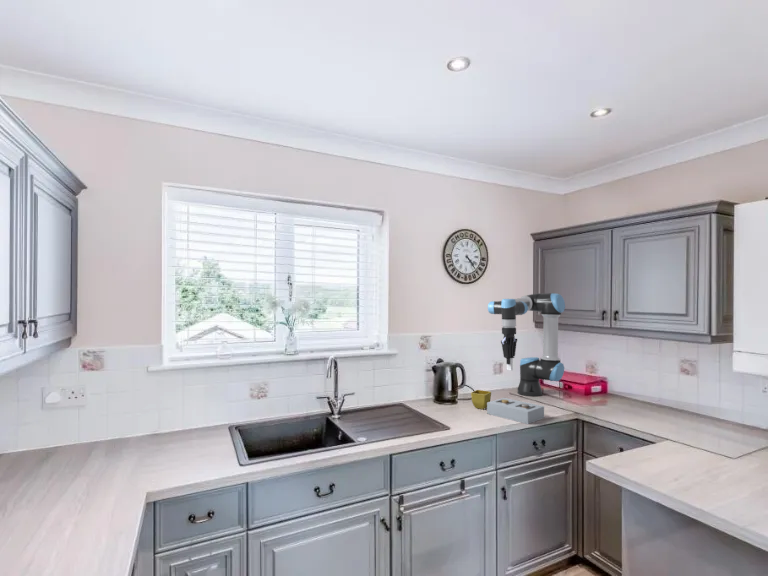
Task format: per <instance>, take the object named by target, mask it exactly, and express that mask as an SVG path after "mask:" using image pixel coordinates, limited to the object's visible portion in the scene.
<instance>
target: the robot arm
mask: <svg viewBox="0 0 768 576" xmlns="http://www.w3.org/2000/svg"><path fill="white" fill-rule="evenodd" d="M565 308H566V303H565V299H564V297H563V296H562V294H559V293H555V292H554V293H553V292H552V293H551V292H550V293H547V292H546V293H531V294H527V295H523V296H521V297H520V298H502V299H501V300H499V301H498V300H497V301H493V300H492V301H489V302H488V304H487V311H488V313H489V314H491V315H501V326H502V327H501V334H502V335H503V339H502V340H500V344H501V347H502V354H503V355H502V356H503V358H505V359H506V370H507V371H513V370H514V369H513V366H514V365H513V361H514V360H513V359H515V357H516V349H517V342H518V338H516V337H515V335H516V334H517V328H516V327H517V316H522V315H525V314H527V312H528V311H530V312H531V311H532V312H538V313H540V315H541V316H542V318H543V330H542V331H543V333H542V334H543V336H542V337H543V339H542V344H543V346H542V353H543V354H542V356H541V357H540V358H539V357H533V356H532V357H524V358H521V359H520V360H519V361H520V363H519V376H520V377H519V378H520V379H519V383H518V386H517V389H516V390H517V391H516V392H517V394H518V395H521V396H525V395H526V396H525V397H540V396H542V395H543V390H542V386H541V383H540V380H544V381H550V382H559V381H561V380H562V378H563V376H564V373H565V366H564V363H563V362H561V358H560V357H559V318H560V317H561V315H562V313H564V311H565Z"/></svg>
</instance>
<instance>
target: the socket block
mask: <svg viewBox="0 0 768 576" xmlns="http://www.w3.org/2000/svg"><path fill="white" fill-rule="evenodd" d="M502 400H509V403H506V404H505V403H502ZM522 404H528V405H529V408H523V407H522ZM486 414H487V415H491V416H495V417H497V418H502V419H507V420H511V421H514V422H518V423H521V424H522V423H523V424H525V425H526V424H527V425H529V424H532V423H534V422H537V421H540V420H543V419H545V406H544V405H540V404H537V403H531V402H526V401H522V400H516V399H511V398H506V397H502V398H498V399H495V400H490V402H487V408H486Z"/></svg>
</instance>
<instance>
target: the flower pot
mask: <svg viewBox="0 0 768 576" xmlns="http://www.w3.org/2000/svg"><path fill="white" fill-rule="evenodd" d="M470 396H471V403H472V405H473V406H474V408H475V409H480V410H485V409H487V402H491V397H492V391H489V390H481V389H476V390H474V391H472V392H470Z"/></svg>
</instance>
